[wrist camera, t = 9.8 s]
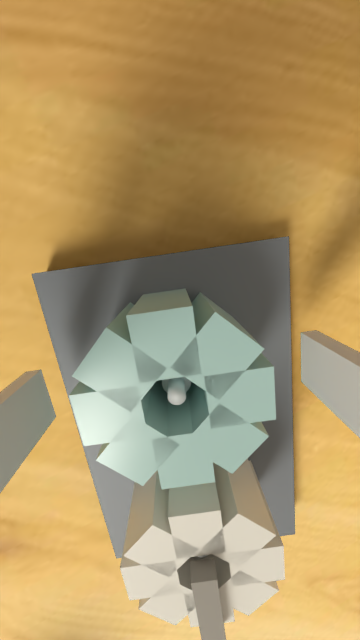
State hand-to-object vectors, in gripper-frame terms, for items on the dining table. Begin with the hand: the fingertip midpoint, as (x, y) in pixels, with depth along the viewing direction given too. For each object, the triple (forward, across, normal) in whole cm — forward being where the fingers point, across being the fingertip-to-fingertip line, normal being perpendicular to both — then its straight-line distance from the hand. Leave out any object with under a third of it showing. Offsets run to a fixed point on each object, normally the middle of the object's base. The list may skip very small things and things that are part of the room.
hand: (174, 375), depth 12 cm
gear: (+2, 0, -10) cm, 10 cm away
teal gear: (+2, 0, 0) cm, 2 cm away
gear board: (+4, 0, -5) cm, 6 cm away
